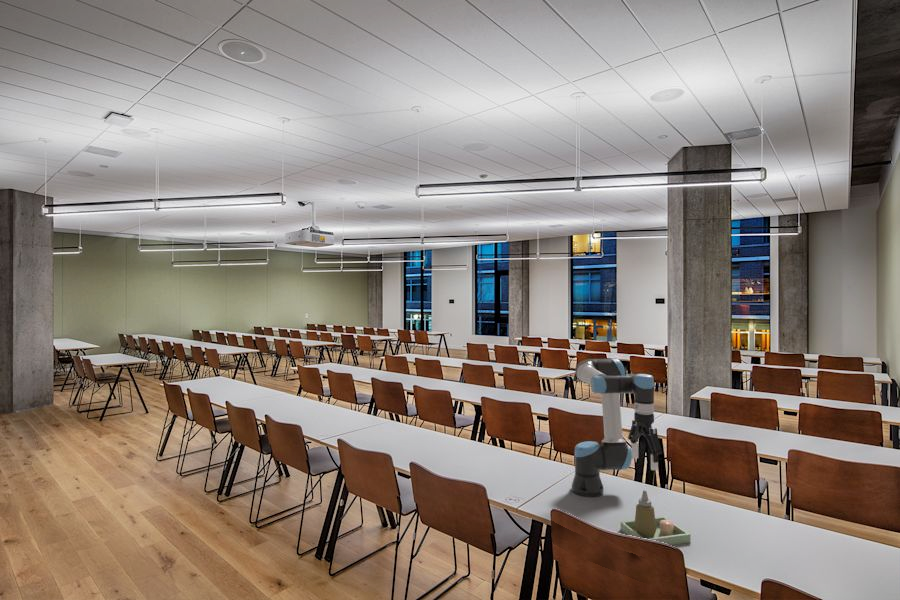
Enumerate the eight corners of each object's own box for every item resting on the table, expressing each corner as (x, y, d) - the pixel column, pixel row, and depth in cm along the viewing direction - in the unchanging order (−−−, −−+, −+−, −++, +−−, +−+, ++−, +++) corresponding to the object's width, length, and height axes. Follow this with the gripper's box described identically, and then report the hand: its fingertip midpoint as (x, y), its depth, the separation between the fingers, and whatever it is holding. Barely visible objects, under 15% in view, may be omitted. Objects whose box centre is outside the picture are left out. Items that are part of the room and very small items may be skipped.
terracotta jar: (657, 531, 198) (657, 520, 198) (668, 530, 199) (668, 519, 199) (664, 537, 193) (664, 526, 193) (676, 536, 194) (676, 524, 194)
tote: (620, 530, 201) (620, 521, 201) (664, 524, 205) (663, 516, 205) (644, 549, 185) (643, 540, 185) (690, 543, 189) (690, 534, 189)
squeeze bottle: (643, 542, 189) (642, 496, 189) (630, 533, 197) (629, 488, 197) (661, 539, 191) (660, 493, 191) (647, 530, 199) (646, 486, 199)
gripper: (619, 405, 213) (619, 454, 214) (654, 421, 189) (654, 475, 189) (635, 404, 215) (635, 453, 215) (671, 419, 190) (671, 474, 191)
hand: (644, 463), depth 202 cm, fingers open, 13 cm apart
